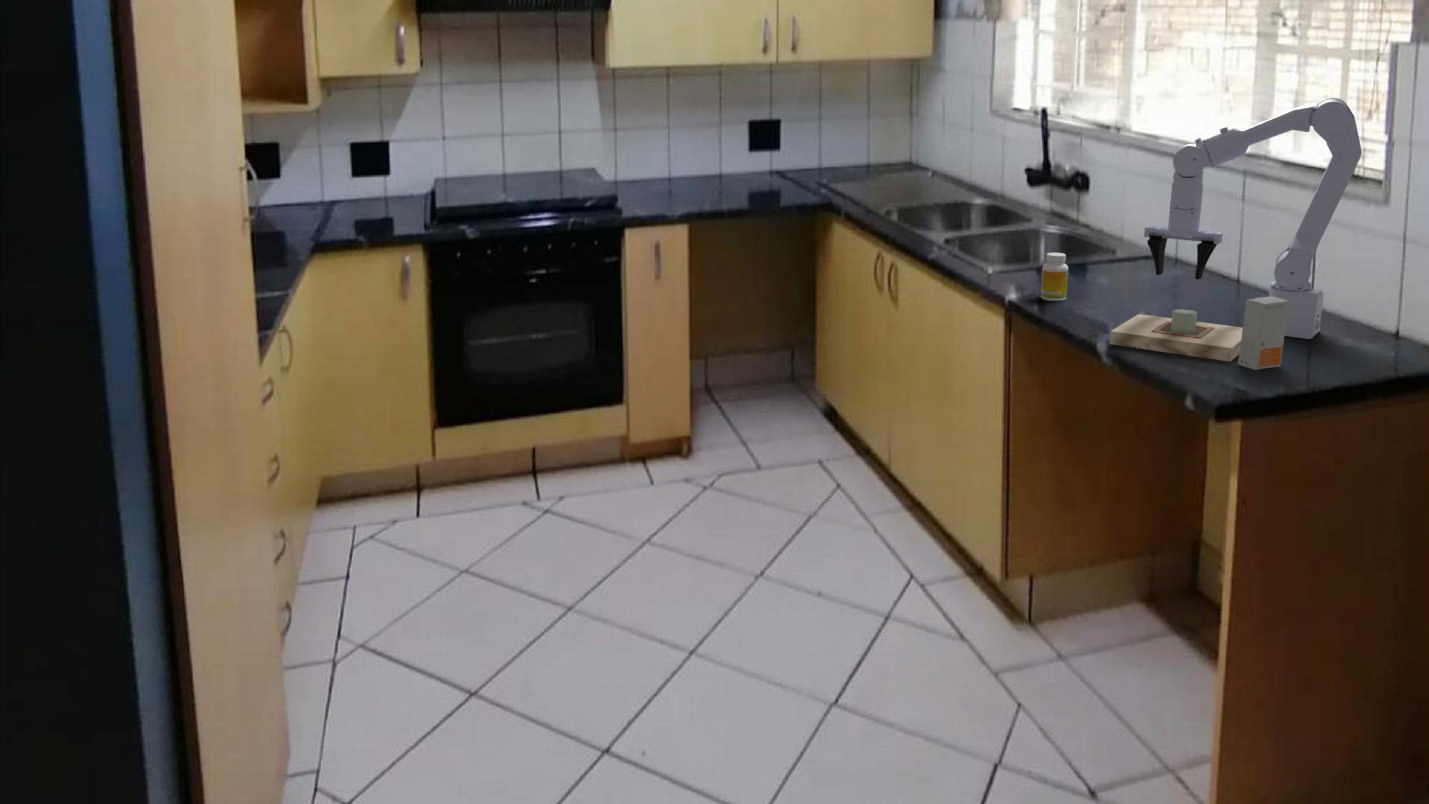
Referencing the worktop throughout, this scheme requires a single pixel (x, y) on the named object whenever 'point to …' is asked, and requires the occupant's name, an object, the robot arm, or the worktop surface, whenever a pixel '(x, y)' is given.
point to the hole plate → (1179, 338)
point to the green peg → (1184, 322)
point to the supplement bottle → (1054, 277)
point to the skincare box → (1263, 332)
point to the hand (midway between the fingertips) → (1178, 276)
